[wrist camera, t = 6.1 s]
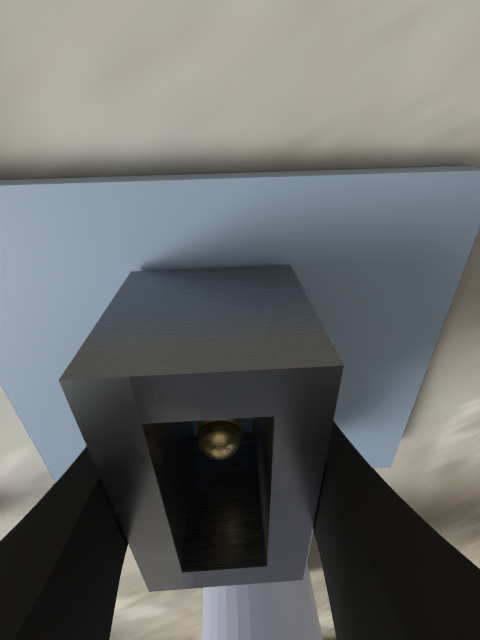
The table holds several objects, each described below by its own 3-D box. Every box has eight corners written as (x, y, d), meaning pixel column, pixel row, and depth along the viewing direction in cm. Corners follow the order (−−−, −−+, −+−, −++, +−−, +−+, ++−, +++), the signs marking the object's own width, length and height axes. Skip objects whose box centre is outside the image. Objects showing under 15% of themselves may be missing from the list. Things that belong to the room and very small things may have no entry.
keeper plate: (377, 442, 17) (390, 467, 16) (71, 461, 17) (58, 488, 16) (465, 165, 10) (500, 169, 9) (-66, 181, 10) (-110, 188, 8)
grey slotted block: (278, 447, 14) (302, 580, 10) (170, 454, 14) (149, 591, 10) (290, 264, 10) (343, 365, 6) (131, 271, 10) (58, 380, 5)
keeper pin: (238, 384, 13) (244, 468, 9) (203, 386, 13) (197, 471, 9) (237, 357, 12) (243, 438, 9) (200, 359, 12) (193, 440, 9)
